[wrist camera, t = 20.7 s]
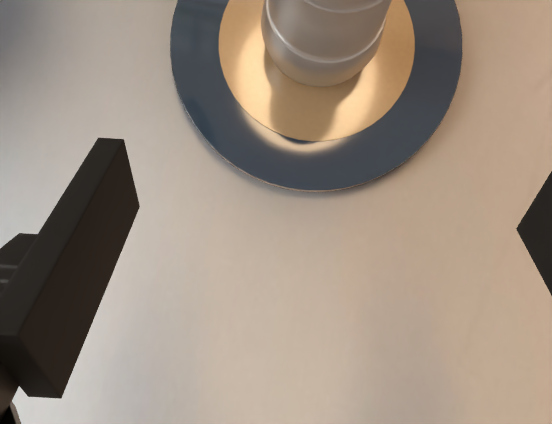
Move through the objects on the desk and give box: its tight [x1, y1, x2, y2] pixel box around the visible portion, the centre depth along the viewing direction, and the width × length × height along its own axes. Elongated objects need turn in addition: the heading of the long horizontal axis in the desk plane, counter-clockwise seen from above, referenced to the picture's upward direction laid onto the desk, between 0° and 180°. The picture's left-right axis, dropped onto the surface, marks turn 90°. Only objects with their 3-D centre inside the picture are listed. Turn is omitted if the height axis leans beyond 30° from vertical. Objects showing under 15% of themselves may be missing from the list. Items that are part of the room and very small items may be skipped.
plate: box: [170, 0, 462, 192], centre depth 26 cm, size 18×18×1 cm
